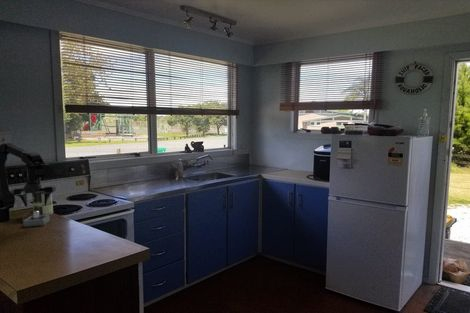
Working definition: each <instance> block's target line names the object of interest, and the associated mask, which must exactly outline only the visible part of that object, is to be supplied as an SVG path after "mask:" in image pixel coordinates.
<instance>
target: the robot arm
mask: <svg viewBox="0 0 470 313" xmlns="http://www.w3.org/2000/svg"><path fill="white" fill-rule="evenodd" d="M10 154H11V155H12V156H15V157H17V158H19V159H20V160H21V162H22V163H24V164H25V165H24V166H23V169H26V176H27V179H26V183H25V185H24V186H23V187H22V186H21V187H16V188H14V189H13V190H12V191H11V190H10V188H9V180H8V175H7V169H6V162H7V160H8V155H10ZM53 173H54V170H53V169H52V167H51V166H50V164H49V163H45V160H44V159H43V157H42V156H41V153H40V152H37V151H30V150H29V151H28V150H26V149H24V148H21V147H19V146H17V145H15V144H13V143H12V142H7V143H5V142H4V143H2V144H0V221H1V222H10V220H12V219H14V217H13V216H11V209H14V208H15V204H16V197H19V198H20V200H21V201H22V202H23V204H24V206H25V207H26V208H27V207H28V194H32V193H35V192H40V191H44V192H46V193H44V196H45V206H46V205H47V202H48V199H49V196H50V194H51V193H52V194H53V193H54V192H56V190H57V189H56V186H55V185H47V186H44V187H42V185H41V180H42V178H50V177H51V176H53ZM15 196H16V197H15Z"/></svg>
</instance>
